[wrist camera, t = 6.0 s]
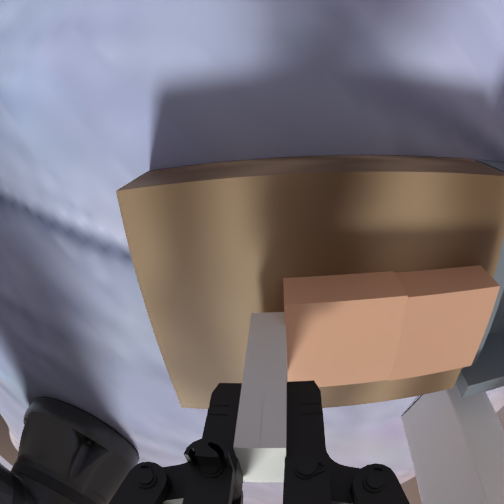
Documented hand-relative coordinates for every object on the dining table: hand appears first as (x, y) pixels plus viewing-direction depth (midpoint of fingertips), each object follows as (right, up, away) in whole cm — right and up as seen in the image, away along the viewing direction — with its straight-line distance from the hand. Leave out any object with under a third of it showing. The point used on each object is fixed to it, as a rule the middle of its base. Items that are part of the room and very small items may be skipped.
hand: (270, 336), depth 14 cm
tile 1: (+8, +1, 0) cm, 8 cm away
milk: (+16, -10, +9) cm, 21 cm away
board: (+3, +2, +4) cm, 6 cm away
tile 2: (+3, +1, +1) cm, 3 cm away
